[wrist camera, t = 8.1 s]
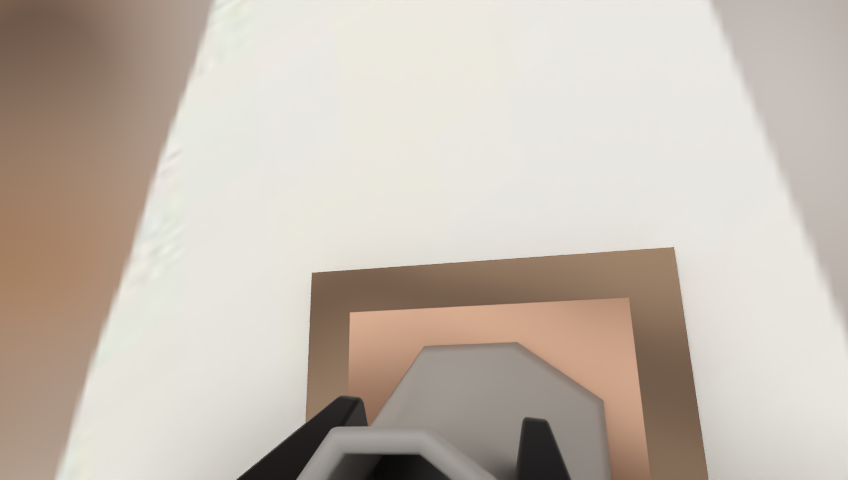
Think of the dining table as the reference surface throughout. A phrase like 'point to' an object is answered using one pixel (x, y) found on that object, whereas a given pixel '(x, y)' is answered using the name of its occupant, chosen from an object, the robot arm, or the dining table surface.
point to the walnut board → (526, 339)
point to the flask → (468, 420)
